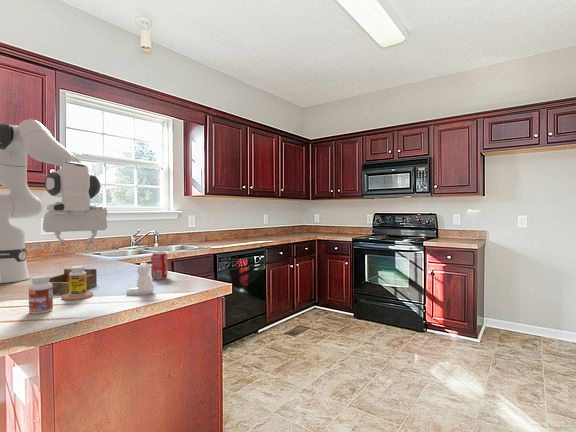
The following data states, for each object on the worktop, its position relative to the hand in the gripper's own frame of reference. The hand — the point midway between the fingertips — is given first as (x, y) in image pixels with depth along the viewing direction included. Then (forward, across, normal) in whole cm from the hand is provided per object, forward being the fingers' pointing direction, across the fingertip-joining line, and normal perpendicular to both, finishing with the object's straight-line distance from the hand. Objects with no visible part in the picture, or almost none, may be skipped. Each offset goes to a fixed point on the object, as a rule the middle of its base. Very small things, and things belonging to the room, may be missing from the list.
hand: (76, 243), depth 128 cm
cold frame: (+20, -1, -16) cm, 25 cm away
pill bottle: (+20, +13, +13) cm, 27 cm away
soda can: (+20, -36, -11) cm, 42 cm away
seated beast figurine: (+20, -20, +12) cm, 30 cm away
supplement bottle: (+19, 0, 0) cm, 19 cm away
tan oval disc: (+20, 0, 0) cm, 20 cm away
